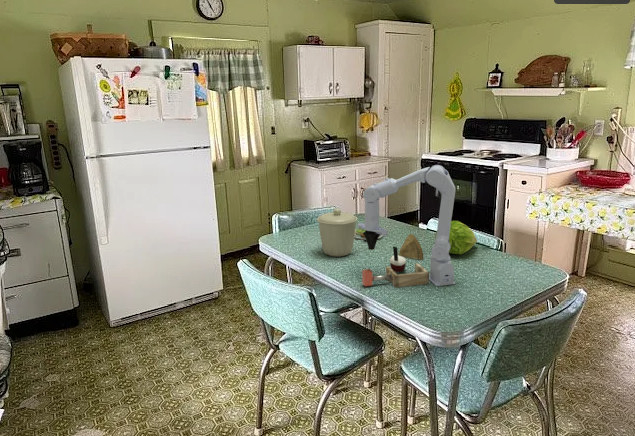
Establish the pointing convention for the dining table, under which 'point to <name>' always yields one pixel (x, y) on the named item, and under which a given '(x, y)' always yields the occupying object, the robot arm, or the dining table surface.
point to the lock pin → (372, 277)
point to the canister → (337, 232)
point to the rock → (411, 248)
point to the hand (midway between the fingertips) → (371, 249)
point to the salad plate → (360, 232)
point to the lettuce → (460, 238)
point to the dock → (409, 277)
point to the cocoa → (397, 261)
